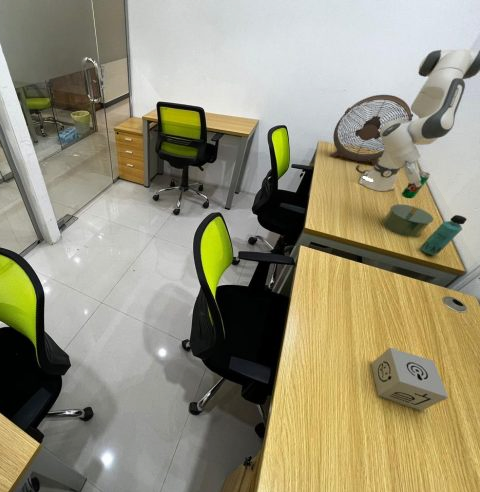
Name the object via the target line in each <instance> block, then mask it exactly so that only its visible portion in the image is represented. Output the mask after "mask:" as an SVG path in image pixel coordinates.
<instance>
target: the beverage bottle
mask: <svg viewBox="0 0 480 492" xmlns="http://www.w3.org/2000/svg"><path fill="white" fill-rule="evenodd" d="M467 221H468V220H467V218H466V216H463V215H459V214H455V215H453V216H452V217H450V219H449V220H446V221H443V222H441V224H440V225H439V227H437V229H435V231H433V232H432V233H431V234H430V236H428V238H427V239H426V240H425V241H424V242H423V243H422V244H421V245H420V250H421V251H422V252H423V253H426V254H428V255H430V256H431V255H433V256H435V255H438V254H440V253H441V251H443V250H444V249H445V248H446V247H447V246H448V245H449V244H450V242H452V241H453V239H454V238H456V237H457V235H458V234H459V233H460V232H461V231H462V230H463V226H462V225H464V224H465V223H466V222H467Z"/></svg>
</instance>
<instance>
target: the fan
mask: <svg viewBox="0 0 480 492" xmlns="http://www.w3.org/2000/svg"><path fill="white" fill-rule="evenodd" d="M381 101H382V104H381ZM389 115H390V116H389ZM351 116H352V117H351ZM413 118H414V113H412V111H411V107H410V106H409V105H408V103H407V102H406V101H405V100H403V99H402V98H401V97H399V96H395V95H391V94H376V95H372V96H369V97H365V98H363V99H361V100H358V102H355V103H354V104H352V106H350V107H348V108H346V110H345V111H344V114H343V115H342V116H341V117H340V119H339V120H338V122H337V123H336V125H335V127H334V130H333V136H332V137H333V144H334V147H335V149H336V150H334V151H333V152H332V153H331V155H330V158H334V159H335V158H337V157H338V156H340V155H341V156H342V157H345V158H347V159H349V160H351V161H357V162H358V161H359V162H368V161H371V164H372V166H373V167H374V166H375V165H376V164H377V163H378V162H379V160H380V158H381V157H382V155H383V152H384V149H385V146H384V144H383V141H382V138H381V136H380V130H381V128H382V126H383V125H384V124H385V123H387V122H388V121H390V120H406V121H413ZM385 119H386V120H385ZM367 147H368V148H369V149H367ZM362 149H367V151H362Z"/></svg>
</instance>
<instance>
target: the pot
mask: <svg viewBox="0 0 480 492" xmlns="http://www.w3.org/2000/svg"><path fill="white" fill-rule="evenodd" d="M382 226H384V227H385V228H386V229H387V230H388V231H390V232H392V233H395V234H397V235H400V236H403V237H413V238H414V237H418V236H421V234H422V233H423V231H424V230H425V229H426V228H427V227H428V226H429V224H418V223H413V222H409V221H406V220H403V219H401V218H399V217H397V216H396V215H394V214H393V213H392V212H391V210H389V211H388V213H387V214H386V215H385V217H384V219H382Z"/></svg>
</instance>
